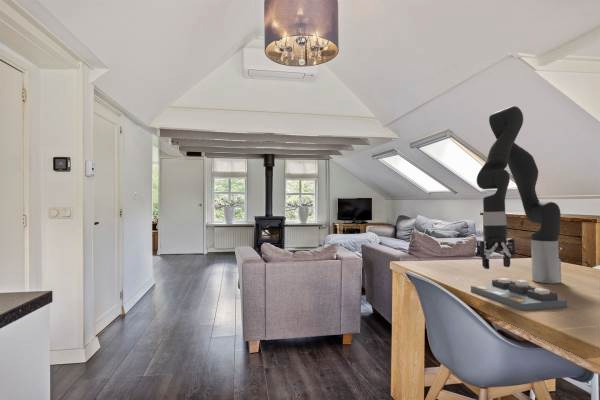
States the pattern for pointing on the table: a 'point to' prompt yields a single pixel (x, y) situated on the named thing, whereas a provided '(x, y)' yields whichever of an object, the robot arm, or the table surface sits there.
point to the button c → (542, 291)
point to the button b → (522, 283)
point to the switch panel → (519, 296)
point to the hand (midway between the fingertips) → (496, 267)
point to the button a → (504, 280)
